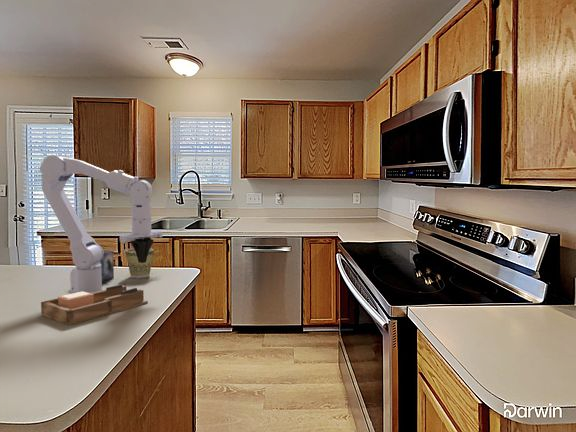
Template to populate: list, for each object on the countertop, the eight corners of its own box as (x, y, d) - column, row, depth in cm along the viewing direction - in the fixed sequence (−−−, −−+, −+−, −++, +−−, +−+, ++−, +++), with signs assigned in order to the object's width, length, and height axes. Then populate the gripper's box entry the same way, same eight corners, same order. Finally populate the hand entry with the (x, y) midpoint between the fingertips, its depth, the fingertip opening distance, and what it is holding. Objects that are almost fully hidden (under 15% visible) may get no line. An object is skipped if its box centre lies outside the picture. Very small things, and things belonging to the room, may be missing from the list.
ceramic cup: (128, 280, 158) (127, 253, 157) (123, 275, 167) (123, 248, 166) (165, 277, 165) (164, 250, 164) (158, 271, 173) (158, 246, 172)
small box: (97, 285, 151) (96, 255, 150) (80, 284, 152) (79, 254, 151) (115, 278, 161) (114, 250, 160) (99, 277, 162) (98, 249, 161)
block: (58, 313, 118) (58, 296, 118) (83, 307, 124) (82, 290, 124) (69, 317, 115) (68, 299, 115) (93, 310, 121) (93, 293, 121)
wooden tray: (41, 315, 119) (40, 299, 118) (119, 295, 138) (119, 282, 138) (69, 325, 111) (68, 308, 111) (147, 303, 131) (147, 288, 131)
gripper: (129, 221, 130) (130, 267, 131) (168, 218, 142) (169, 260, 143) (115, 220, 133) (115, 264, 135) (153, 216, 145) (154, 257, 147)
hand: (142, 262), depth 139 cm, fingers closed
